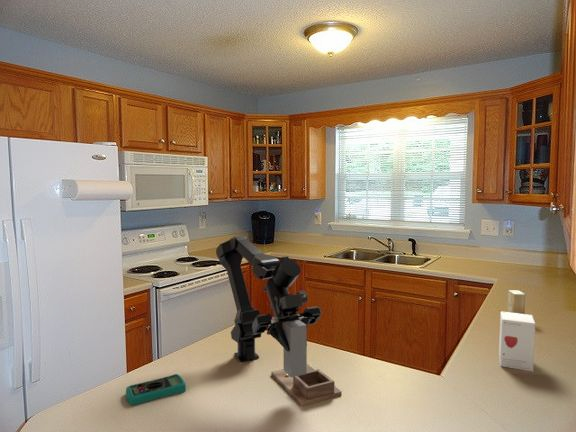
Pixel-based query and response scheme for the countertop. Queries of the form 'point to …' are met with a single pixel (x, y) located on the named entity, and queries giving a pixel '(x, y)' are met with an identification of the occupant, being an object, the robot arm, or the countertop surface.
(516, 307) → the skincare box
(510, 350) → the supplement box
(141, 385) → the digital multimeter
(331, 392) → the walnut holder
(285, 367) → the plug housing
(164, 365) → the countertop surface
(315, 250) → the countertop surface
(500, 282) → the countertop surface
